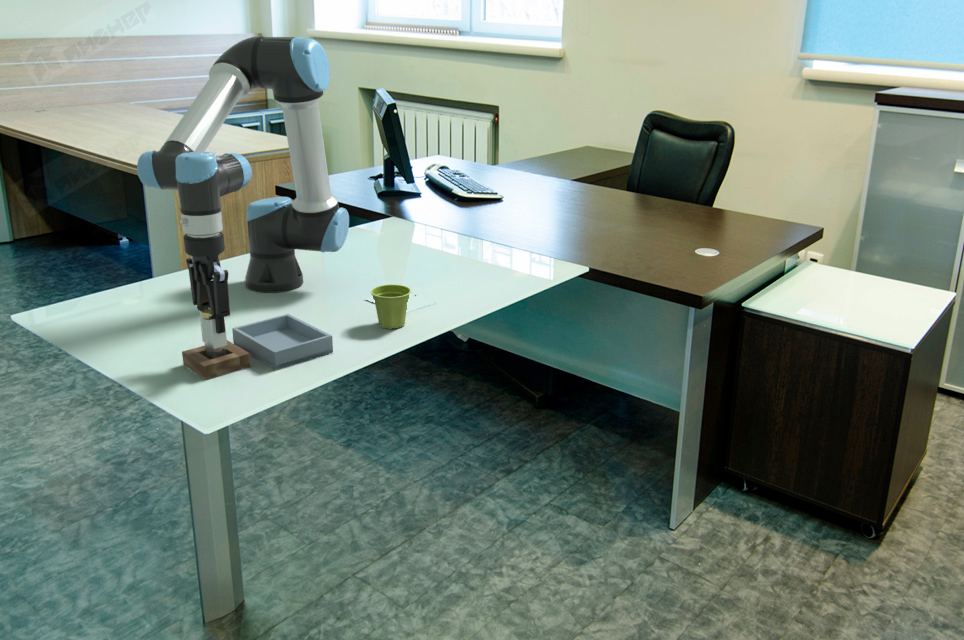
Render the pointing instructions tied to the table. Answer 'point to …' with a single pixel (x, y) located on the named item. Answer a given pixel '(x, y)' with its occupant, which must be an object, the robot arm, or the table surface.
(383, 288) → the plant pot
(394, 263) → the table surface
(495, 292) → the table surface
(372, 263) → the table surface
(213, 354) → the pin
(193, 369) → the socket block
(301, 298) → the table surface
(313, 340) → the tray
